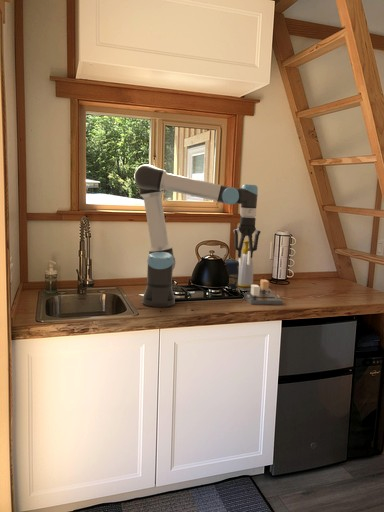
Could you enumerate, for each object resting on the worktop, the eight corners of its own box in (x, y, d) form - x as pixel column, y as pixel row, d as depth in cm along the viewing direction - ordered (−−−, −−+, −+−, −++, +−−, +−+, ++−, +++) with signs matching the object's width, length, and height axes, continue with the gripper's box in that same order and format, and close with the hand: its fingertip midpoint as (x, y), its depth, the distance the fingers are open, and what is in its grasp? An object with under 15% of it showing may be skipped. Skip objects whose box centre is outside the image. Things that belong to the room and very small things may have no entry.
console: (250, 304, 211) (251, 298, 211) (237, 291, 236) (237, 286, 236) (282, 304, 214) (282, 298, 213) (265, 292, 239) (266, 286, 239)
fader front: (253, 297, 214) (254, 286, 214) (250, 295, 219) (251, 284, 219) (259, 297, 215) (259, 286, 214) (256, 295, 220) (256, 284, 219)
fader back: (262, 291, 229) (263, 281, 228) (259, 289, 233) (260, 279, 233) (268, 291, 229) (268, 281, 228) (265, 289, 234) (265, 279, 233)
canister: (236, 294, 230) (238, 260, 227) (218, 292, 232) (220, 259, 229) (238, 290, 239) (240, 258, 237) (221, 288, 241) (223, 256, 239)
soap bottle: (254, 288, 248) (258, 242, 244) (234, 286, 248) (237, 241, 244) (252, 283, 259) (256, 240, 255) (233, 282, 259) (236, 239, 255)
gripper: (233, 216, 205) (230, 265, 209) (266, 218, 208) (262, 266, 211) (229, 215, 213) (226, 262, 216) (261, 217, 215) (258, 263, 219)
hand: (244, 264), depth 214 cm, fingers open, 3 cm apart
